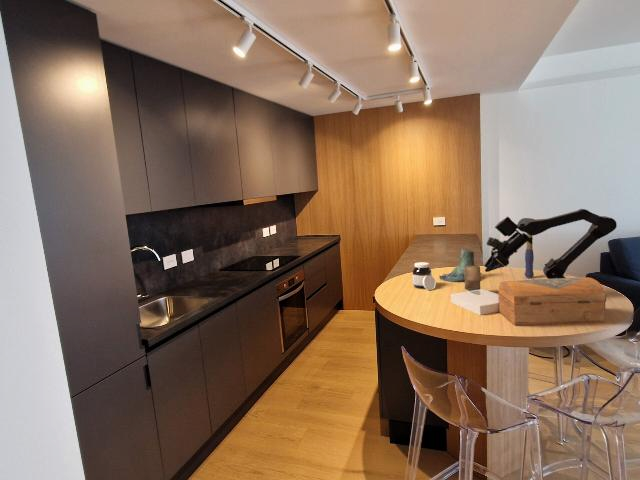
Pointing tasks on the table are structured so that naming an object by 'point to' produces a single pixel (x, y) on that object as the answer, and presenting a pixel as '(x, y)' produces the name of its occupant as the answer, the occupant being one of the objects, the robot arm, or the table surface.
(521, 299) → the wooden box
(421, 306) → the table surface
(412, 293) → the table surface
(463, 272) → the tree stump
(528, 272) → the rubber mallet
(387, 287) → the table surface
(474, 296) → the white board
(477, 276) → the walnut peg
